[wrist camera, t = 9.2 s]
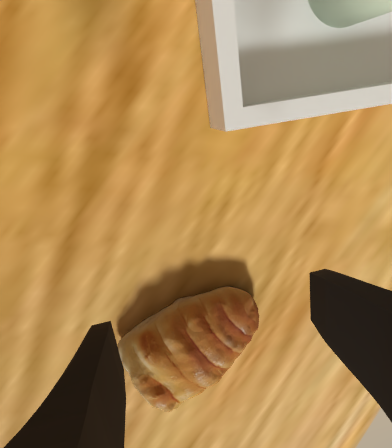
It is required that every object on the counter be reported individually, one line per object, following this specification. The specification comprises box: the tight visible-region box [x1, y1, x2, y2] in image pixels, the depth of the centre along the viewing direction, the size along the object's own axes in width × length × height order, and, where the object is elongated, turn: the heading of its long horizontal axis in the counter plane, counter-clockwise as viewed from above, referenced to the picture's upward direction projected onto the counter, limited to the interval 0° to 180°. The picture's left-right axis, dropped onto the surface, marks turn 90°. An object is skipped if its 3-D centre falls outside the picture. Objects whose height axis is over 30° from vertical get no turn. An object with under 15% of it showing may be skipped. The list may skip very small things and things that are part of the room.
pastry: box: [118, 286, 259, 412], centre depth 22 cm, size 9×7×4 cm
